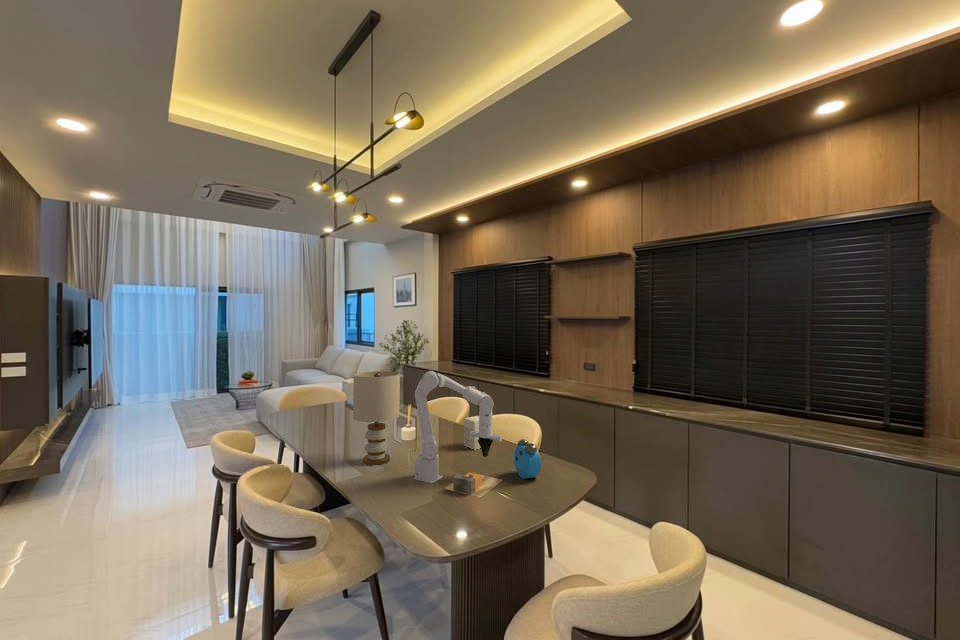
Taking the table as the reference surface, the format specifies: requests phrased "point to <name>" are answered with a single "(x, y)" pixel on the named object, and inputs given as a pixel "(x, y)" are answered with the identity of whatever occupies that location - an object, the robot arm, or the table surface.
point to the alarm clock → (527, 460)
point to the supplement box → (469, 426)
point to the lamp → (376, 409)
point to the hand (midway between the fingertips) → (485, 456)
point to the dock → (483, 488)
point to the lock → (476, 480)
